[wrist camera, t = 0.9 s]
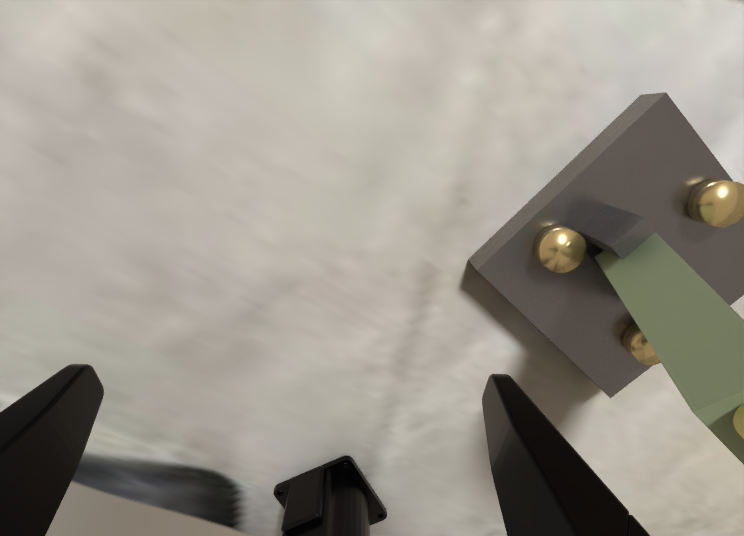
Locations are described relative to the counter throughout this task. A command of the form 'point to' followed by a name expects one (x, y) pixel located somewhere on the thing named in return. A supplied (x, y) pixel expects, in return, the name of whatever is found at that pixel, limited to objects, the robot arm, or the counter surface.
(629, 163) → the base
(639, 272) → the green lever
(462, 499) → the counter surface
